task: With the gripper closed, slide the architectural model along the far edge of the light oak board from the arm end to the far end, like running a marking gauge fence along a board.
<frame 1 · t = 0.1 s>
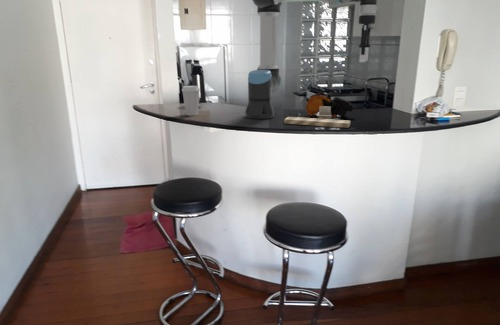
hand: (363, 61, 188), 28 cm above the table, fingers open, 13 cm apart
board: (316, 124, 182), on the table
coffee cup: (191, 115, 207), on the table
architectural model: (324, 122, 190), on the table
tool: (328, 116, 201), on the table
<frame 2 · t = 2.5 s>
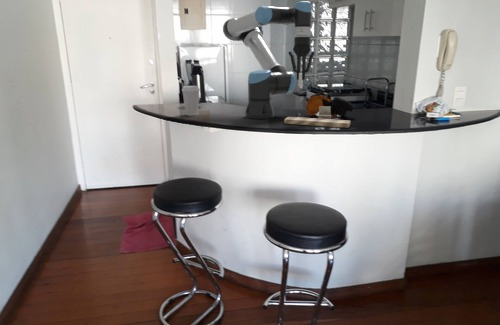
hand: (300, 86, 190), 16 cm above the table, fingers closed
nothing on the table moved.
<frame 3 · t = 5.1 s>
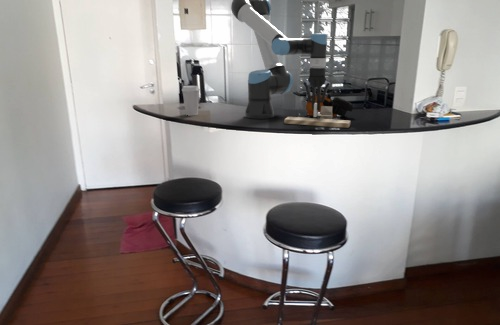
hand: (315, 116, 191), 2 cm above the table, fingers closed
architectural model: (326, 122, 190), on the table, touching board, gripper
everything else where it was.
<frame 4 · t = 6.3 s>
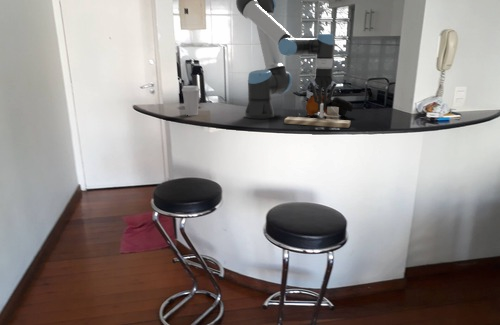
hand: (321, 117, 190), 2 cm above the table, fingers closed
architectural model: (332, 122, 188), on the table, touching board, gripper
everything else where it was.
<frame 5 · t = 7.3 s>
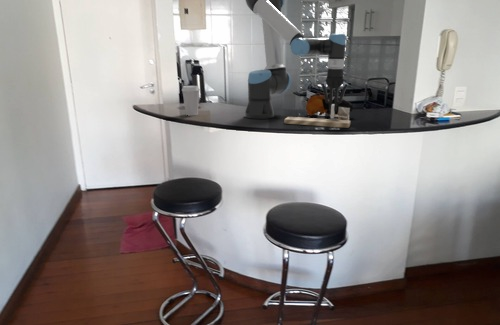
hand: (332, 117, 188), 2 cm above the table, fingers closed
architectural model: (342, 123, 186), on the table, touching board, gripper
everything else where it was.
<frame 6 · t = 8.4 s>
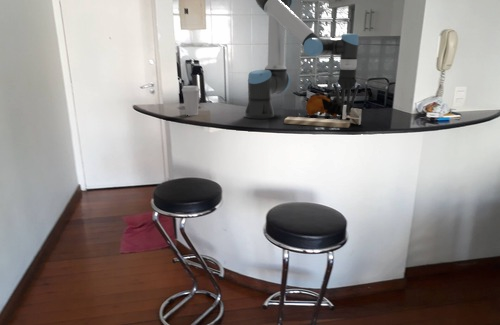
hand: (344, 119, 186), 2 cm above the table, fingers closed
architectural model: (354, 124, 183), on the table, touching board
everything else where it was.
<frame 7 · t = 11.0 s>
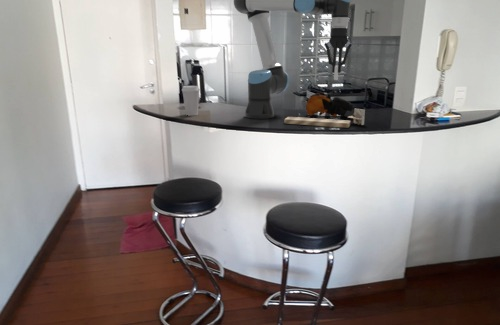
hand: (335, 79, 184), 20 cm above the table, fingers closed
architectural model: (357, 125, 182), on the table, touching board
everything else where it was.
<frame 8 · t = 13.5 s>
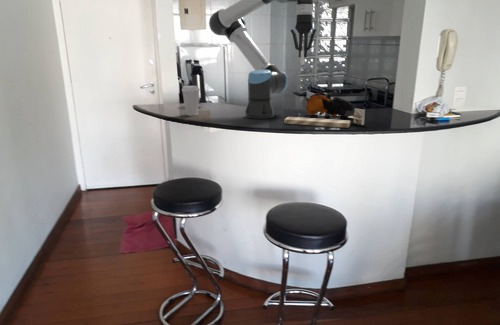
hand: (302, 64, 194), 26 cm above the table, fingers closed
architectural model: (357, 125, 182), on the table
at the end: architectural model inside the target area (4.4 cm from its centre), on the table; architectural model moved 16.2 cm from its start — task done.
